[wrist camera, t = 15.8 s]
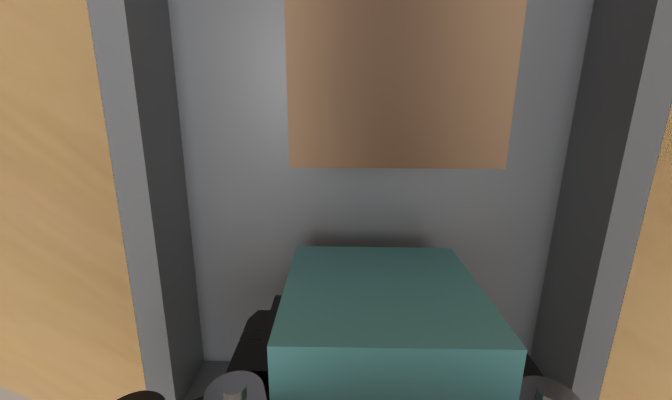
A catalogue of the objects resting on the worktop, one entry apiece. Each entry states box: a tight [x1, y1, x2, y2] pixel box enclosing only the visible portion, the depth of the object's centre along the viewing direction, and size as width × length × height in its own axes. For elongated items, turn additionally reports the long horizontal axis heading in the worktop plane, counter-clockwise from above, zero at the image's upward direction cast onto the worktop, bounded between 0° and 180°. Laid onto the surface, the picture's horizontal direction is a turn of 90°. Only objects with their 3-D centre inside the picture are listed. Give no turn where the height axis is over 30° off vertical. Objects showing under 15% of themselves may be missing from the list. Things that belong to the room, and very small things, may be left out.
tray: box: [86, 0, 672, 400], centre depth 13 cm, size 16×18×4 cm
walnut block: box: [284, 0, 527, 169], centre depth 10 cm, size 5×5×5 cm
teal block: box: [267, 246, 527, 400], centre depth 10 cm, size 5×5×5 cm
